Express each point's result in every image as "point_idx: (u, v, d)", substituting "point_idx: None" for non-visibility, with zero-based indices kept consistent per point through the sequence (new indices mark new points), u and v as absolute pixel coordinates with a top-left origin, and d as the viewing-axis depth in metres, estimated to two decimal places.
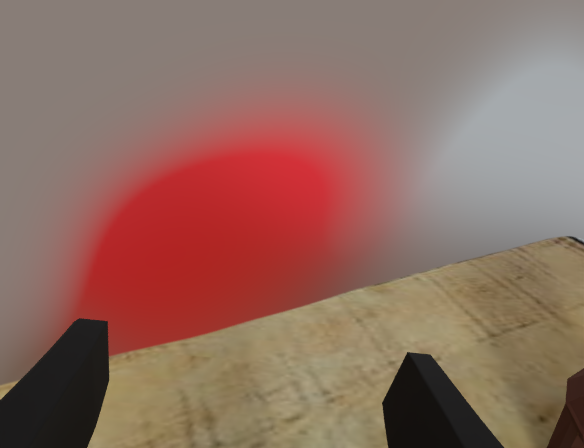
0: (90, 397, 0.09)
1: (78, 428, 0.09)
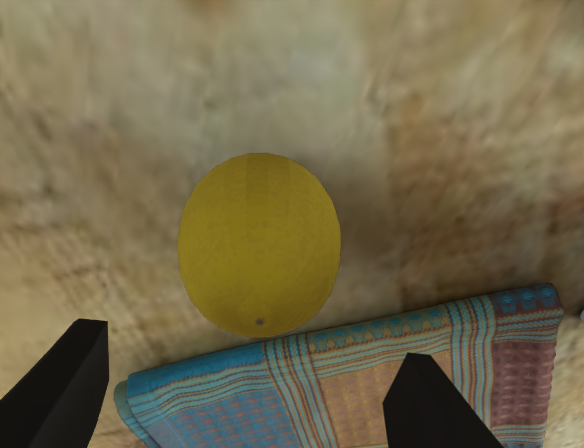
0: (90, 397, 0.09)
1: (78, 428, 0.09)
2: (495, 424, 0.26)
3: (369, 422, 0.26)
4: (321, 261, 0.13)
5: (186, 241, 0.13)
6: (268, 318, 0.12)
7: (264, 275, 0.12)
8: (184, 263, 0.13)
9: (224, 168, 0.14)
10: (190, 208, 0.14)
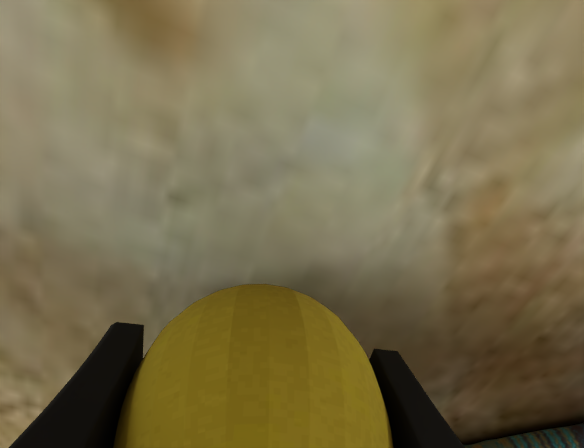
0: None
1: None
2: None
3: None
4: None
5: None
6: None
7: None
8: None
9: (192, 339, 0.08)
10: (128, 423, 0.08)
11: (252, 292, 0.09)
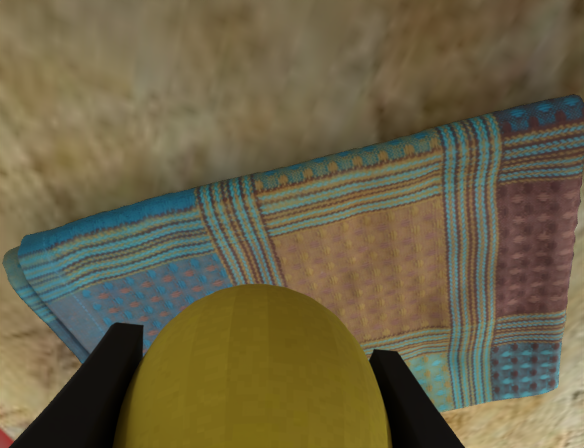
0: None
1: None
2: (501, 314, 0.21)
3: (342, 310, 0.21)
4: None
5: None
6: None
7: None
8: None
9: (191, 339, 0.08)
10: (127, 423, 0.08)
11: (251, 292, 0.09)
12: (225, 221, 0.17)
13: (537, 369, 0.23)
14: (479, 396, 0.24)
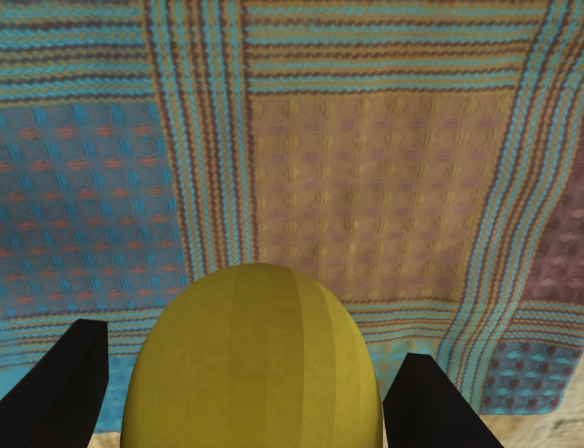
0: (90, 397, 0.09)
1: (78, 428, 0.09)
2: (528, 296, 0.15)
3: (323, 249, 0.14)
4: None
5: None
6: None
7: None
8: None
9: (196, 308, 0.09)
10: (139, 383, 0.08)
11: (252, 268, 0.10)
12: (182, 40, 0.10)
13: (543, 381, 0.18)
14: None
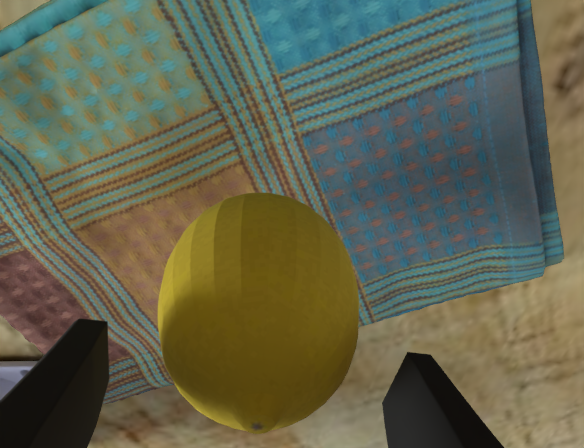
0: (90, 397, 0.09)
1: (78, 428, 0.09)
2: (23, 254, 0.17)
3: None
4: None
5: None
6: (249, 430, 0.09)
7: (271, 429, 0.10)
8: (352, 349, 0.11)
9: None
10: None
11: None
12: None
13: None
14: None
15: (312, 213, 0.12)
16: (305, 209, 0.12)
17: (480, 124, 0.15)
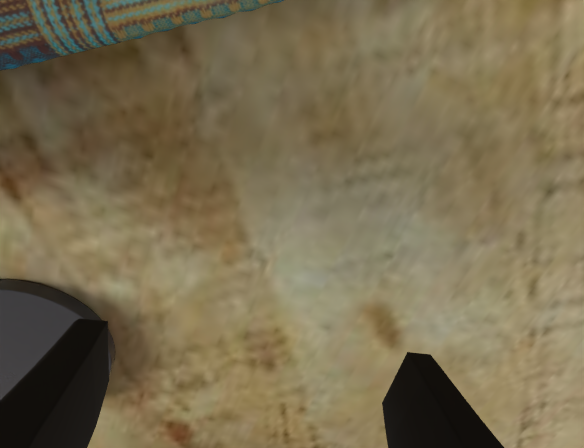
0: (90, 397, 0.09)
1: (78, 428, 0.09)
2: None
3: None
4: None
5: None
6: None
7: None
8: None
9: None
10: None
11: None
12: None
13: None
14: None
15: None
16: None
17: None
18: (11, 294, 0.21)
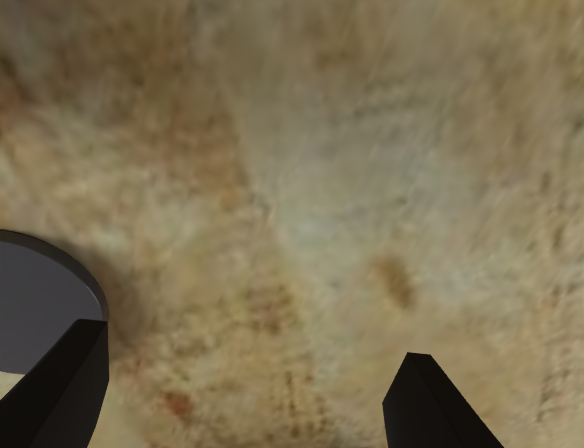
0: (90, 397, 0.09)
1: (78, 428, 0.09)
2: None
3: None
4: None
5: None
6: None
7: None
8: None
9: None
10: None
11: None
12: None
13: None
14: None
15: None
16: None
17: None
18: None
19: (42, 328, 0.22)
